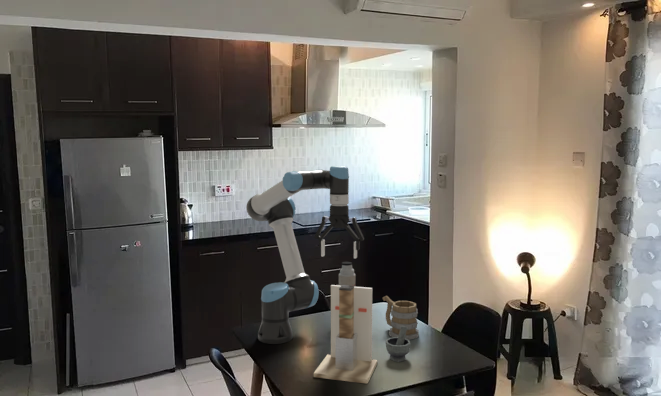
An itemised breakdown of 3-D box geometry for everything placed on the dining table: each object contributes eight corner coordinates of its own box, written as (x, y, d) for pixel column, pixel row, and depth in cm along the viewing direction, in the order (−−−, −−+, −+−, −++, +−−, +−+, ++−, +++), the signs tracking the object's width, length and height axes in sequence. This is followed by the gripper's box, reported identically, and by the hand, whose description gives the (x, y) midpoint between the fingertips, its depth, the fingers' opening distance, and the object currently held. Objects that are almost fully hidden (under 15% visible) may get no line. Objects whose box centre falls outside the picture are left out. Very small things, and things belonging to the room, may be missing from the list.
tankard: (424, 336, 240) (425, 302, 238) (402, 342, 233) (403, 307, 231) (394, 323, 256) (394, 292, 255) (373, 328, 249) (373, 296, 248)
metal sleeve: (335, 368, 202) (335, 337, 200) (340, 361, 208) (340, 331, 207) (352, 370, 200) (353, 339, 199) (356, 363, 206) (357, 333, 205)
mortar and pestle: (402, 365, 208) (402, 335, 207) (381, 359, 214) (381, 330, 213) (415, 356, 218) (416, 326, 216) (395, 350, 223) (395, 322, 222)
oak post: (338, 351, 202) (338, 287, 199) (342, 346, 206) (342, 284, 204) (350, 352, 200) (351, 288, 198) (353, 348, 205) (354, 285, 202)
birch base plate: (313, 376, 198) (313, 373, 198) (327, 358, 215) (327, 354, 215) (367, 383, 193) (367, 379, 193) (377, 363, 210) (377, 360, 210)
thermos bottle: (358, 318, 263) (358, 261, 260) (350, 323, 256) (350, 265, 253) (344, 316, 267) (344, 259, 264) (335, 320, 260) (335, 263, 257)
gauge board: (330, 357, 212) (330, 286, 209) (331, 355, 214) (331, 284, 211) (370, 362, 208) (371, 289, 205) (371, 360, 210) (372, 287, 207)
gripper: (306, 204, 218) (306, 257, 220) (367, 206, 211) (367, 260, 213) (312, 202, 225) (312, 253, 227) (371, 204, 218) (371, 256, 221)
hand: (339, 257), depth 220 cm, fingers open, 13 cm apart
